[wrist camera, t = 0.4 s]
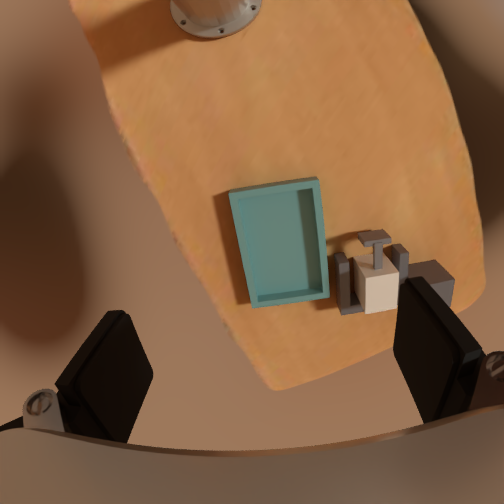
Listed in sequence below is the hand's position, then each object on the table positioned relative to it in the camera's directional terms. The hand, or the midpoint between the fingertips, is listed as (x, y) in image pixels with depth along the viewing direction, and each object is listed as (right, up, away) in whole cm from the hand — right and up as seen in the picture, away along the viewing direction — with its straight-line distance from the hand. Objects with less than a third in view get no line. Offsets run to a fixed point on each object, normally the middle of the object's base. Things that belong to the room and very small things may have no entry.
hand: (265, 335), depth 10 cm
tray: (+4, +4, +36) cm, 36 cm away
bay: (+22, 0, +37) cm, 43 cm away
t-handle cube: (+18, +2, +36) cm, 40 cm away
